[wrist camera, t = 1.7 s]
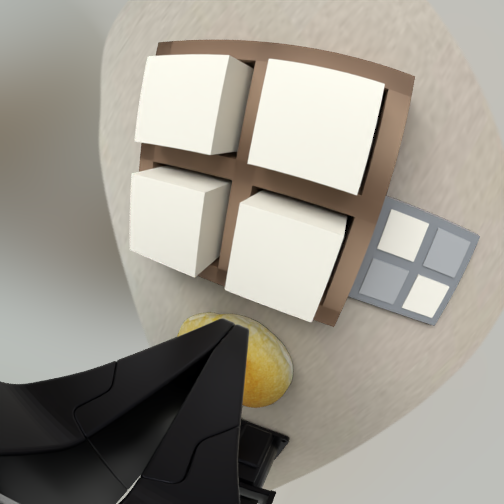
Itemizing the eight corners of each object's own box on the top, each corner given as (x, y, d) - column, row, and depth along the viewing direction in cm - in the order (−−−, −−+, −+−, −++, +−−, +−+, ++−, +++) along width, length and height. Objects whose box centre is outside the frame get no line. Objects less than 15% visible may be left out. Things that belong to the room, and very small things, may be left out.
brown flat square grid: (338, 302, 16) (333, 326, 14) (159, 236, 19) (136, 249, 17) (405, 86, 10) (415, 76, 8) (183, 51, 13) (158, 42, 11)
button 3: (221, 253, 16) (194, 277, 13) (162, 232, 17) (129, 249, 14) (234, 181, 14) (204, 192, 11) (167, 165, 15) (131, 173, 12)
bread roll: (296, 394, 21) (282, 433, 17) (200, 374, 24) (178, 405, 21) (295, 313, 18) (277, 354, 14) (178, 299, 21) (147, 328, 18)
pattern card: (433, 321, 14) (434, 326, 14) (348, 292, 16) (347, 297, 15) (477, 234, 12) (480, 237, 11) (384, 194, 13) (385, 196, 13)
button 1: (321, 289, 15) (311, 322, 12) (248, 263, 16) (224, 289, 13) (347, 215, 13) (344, 235, 10) (263, 189, 14) (240, 202, 11)
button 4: (239, 150, 13) (210, 155, 11) (171, 137, 14) (134, 141, 12) (256, 70, 11) (229, 55, 9) (183, 66, 12) (147, 56, 10)
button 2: (356, 183, 12) (357, 195, 9) (270, 158, 13) (247, 163, 10) (378, 96, 10) (384, 84, 7) (288, 74, 11) (268, 58, 8)
